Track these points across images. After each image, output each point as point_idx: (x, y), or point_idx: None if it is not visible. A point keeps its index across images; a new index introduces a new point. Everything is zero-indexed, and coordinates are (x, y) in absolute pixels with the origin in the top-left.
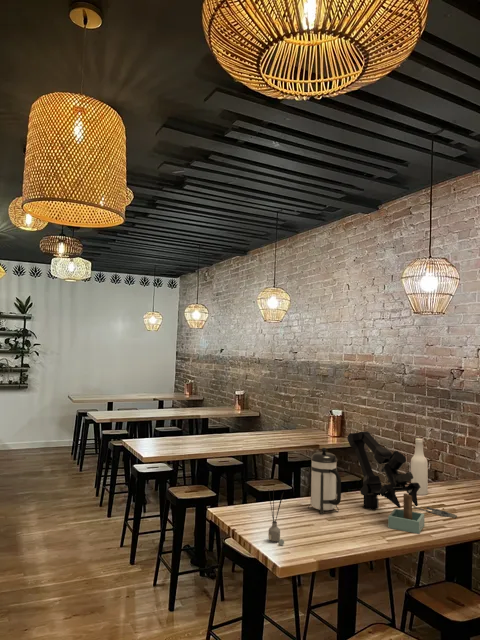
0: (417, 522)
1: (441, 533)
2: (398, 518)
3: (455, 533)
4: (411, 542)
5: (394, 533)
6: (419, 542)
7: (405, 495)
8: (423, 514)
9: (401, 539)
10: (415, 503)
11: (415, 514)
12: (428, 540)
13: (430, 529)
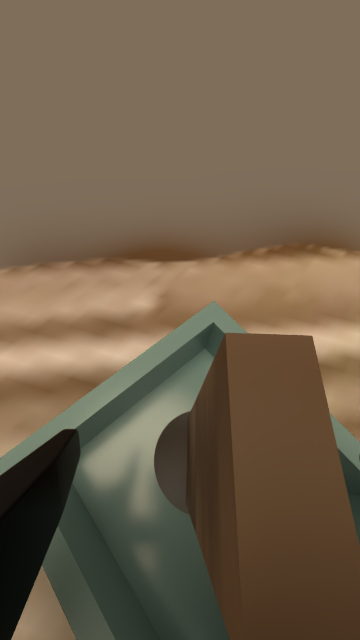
0: (221, 310)
1: (76, 308)
2: (335, 421)
3: (5, 289)
4: (309, 266)
5: (348, 382)
6: (272, 257)
7: (339, 515)
8: (26, 442)
9: (343, 303)
10: (66, 471)
11: (64, 519)
12: (215, 262)
13: (80, 374)
